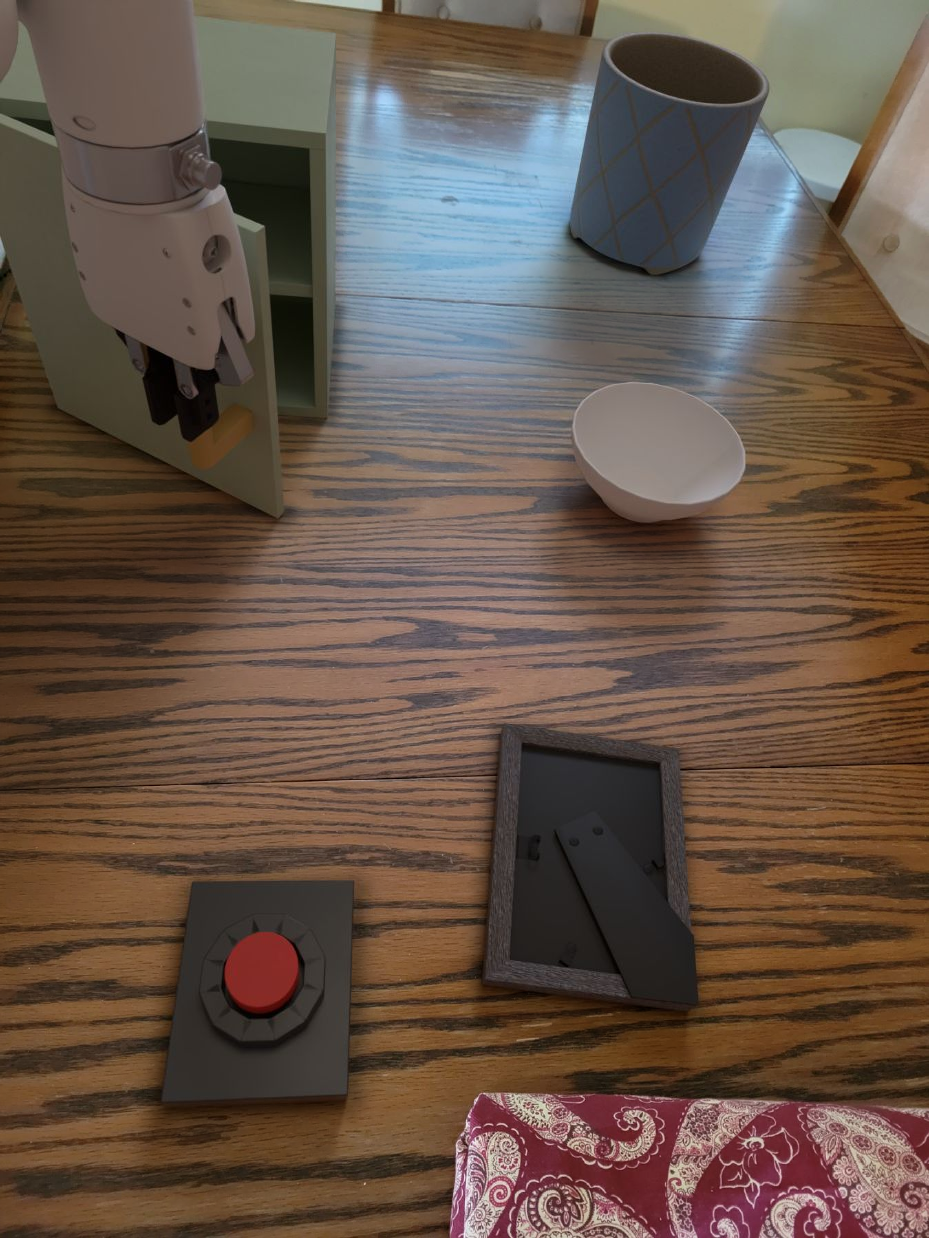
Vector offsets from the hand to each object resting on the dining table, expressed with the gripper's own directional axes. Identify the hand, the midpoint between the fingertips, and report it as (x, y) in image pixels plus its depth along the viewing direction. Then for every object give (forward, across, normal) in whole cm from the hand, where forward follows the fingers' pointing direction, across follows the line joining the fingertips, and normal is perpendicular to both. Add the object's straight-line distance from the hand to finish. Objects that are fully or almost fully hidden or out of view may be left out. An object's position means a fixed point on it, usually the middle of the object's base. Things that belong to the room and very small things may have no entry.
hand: (186, 420), depth 58 cm
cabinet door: (+14, +10, -3) cm, 17 cm away
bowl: (+14, -27, -29) cm, 42 cm away
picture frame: (+14, -38, +6) cm, 42 cm away
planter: (+14, -8, -73) cm, 75 cm away
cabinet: (+14, +17, -20) cm, 30 cm away
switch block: (+14, -25, +25) cm, 38 cm away
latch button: (+11, -25, +25) cm, 37 cm away
